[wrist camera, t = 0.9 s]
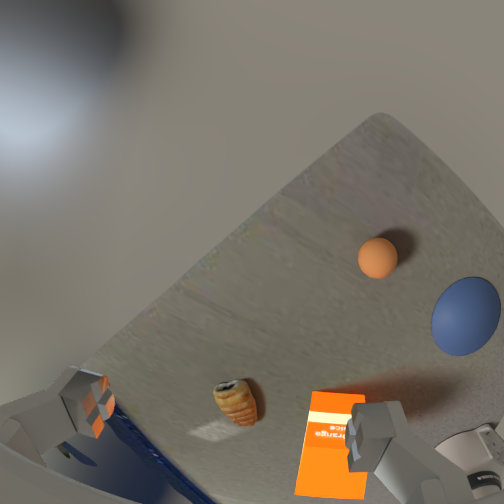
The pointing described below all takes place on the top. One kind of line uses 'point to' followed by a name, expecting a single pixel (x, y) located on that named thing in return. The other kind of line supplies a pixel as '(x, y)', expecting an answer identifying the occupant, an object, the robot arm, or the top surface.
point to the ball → (377, 257)
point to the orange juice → (329, 450)
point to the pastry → (237, 402)
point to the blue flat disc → (465, 316)
